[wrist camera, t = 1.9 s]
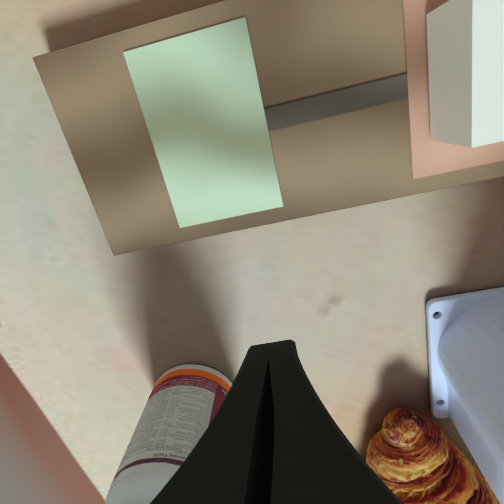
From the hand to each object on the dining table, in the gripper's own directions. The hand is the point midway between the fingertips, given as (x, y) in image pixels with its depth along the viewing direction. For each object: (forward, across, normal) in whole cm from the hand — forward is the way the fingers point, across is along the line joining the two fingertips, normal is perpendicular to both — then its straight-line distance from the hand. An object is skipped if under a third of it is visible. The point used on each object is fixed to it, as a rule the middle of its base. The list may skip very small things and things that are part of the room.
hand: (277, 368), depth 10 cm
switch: (+10, -2, -7) cm, 13 cm away
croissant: (+11, -7, +22) cm, 26 cm away
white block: (+9, -10, -7) cm, 15 cm away
